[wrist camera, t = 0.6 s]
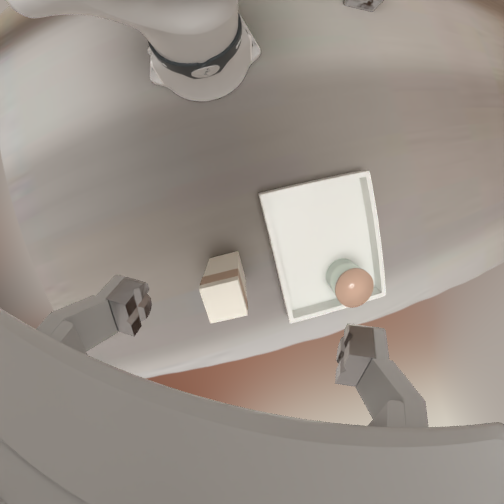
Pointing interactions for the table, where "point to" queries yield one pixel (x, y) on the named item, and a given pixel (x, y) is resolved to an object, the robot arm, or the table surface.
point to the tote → (322, 239)
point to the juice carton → (224, 288)
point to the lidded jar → (349, 282)
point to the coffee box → (363, 4)
